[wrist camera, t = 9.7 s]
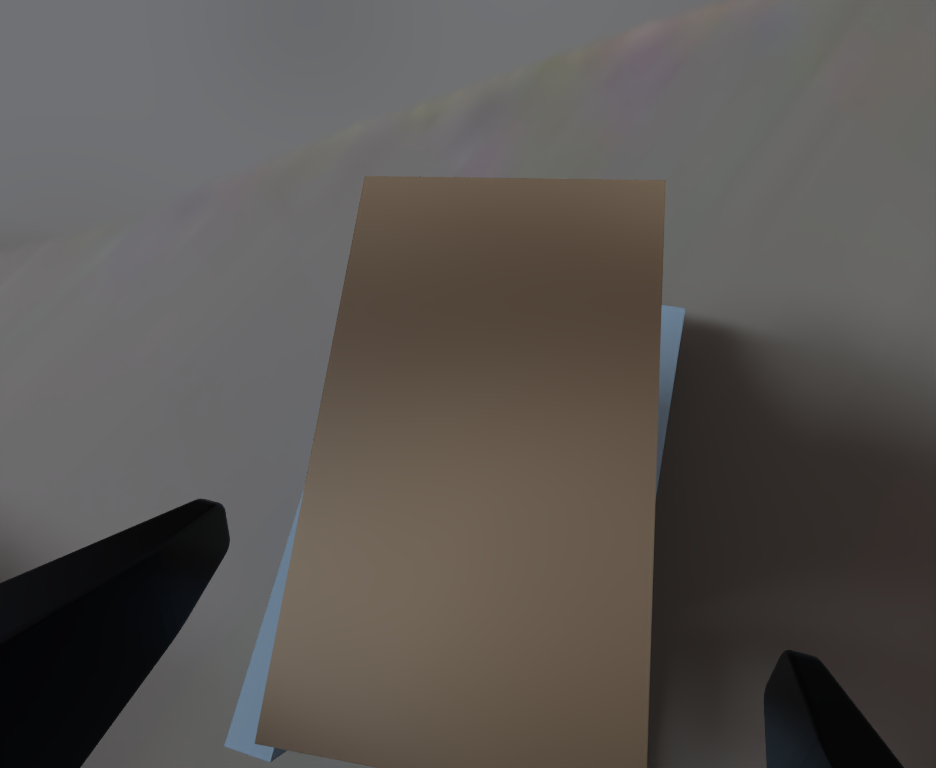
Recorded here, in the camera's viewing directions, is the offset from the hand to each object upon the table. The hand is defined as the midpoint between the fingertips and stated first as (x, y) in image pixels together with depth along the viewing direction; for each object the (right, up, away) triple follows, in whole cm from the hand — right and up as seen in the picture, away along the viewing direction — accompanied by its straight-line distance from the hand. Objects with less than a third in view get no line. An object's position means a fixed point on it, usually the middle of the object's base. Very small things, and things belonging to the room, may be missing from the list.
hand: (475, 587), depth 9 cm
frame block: (+1, 0, +7) cm, 8 cm away
